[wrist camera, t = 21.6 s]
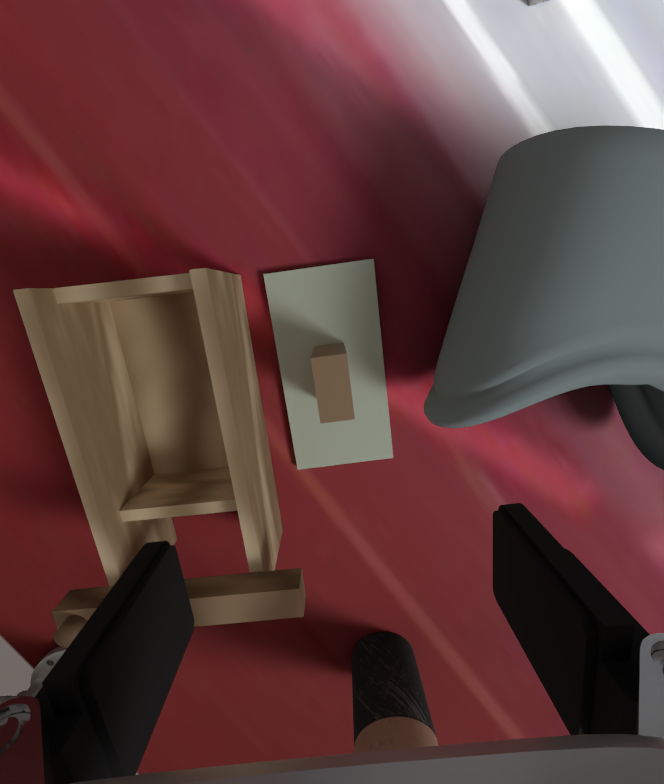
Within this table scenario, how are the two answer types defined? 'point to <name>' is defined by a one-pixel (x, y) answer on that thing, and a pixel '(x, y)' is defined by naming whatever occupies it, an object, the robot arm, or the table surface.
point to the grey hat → (564, 284)
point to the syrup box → (535, 2)
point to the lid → (331, 362)
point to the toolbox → (157, 407)
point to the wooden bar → (203, 601)
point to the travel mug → (388, 696)
